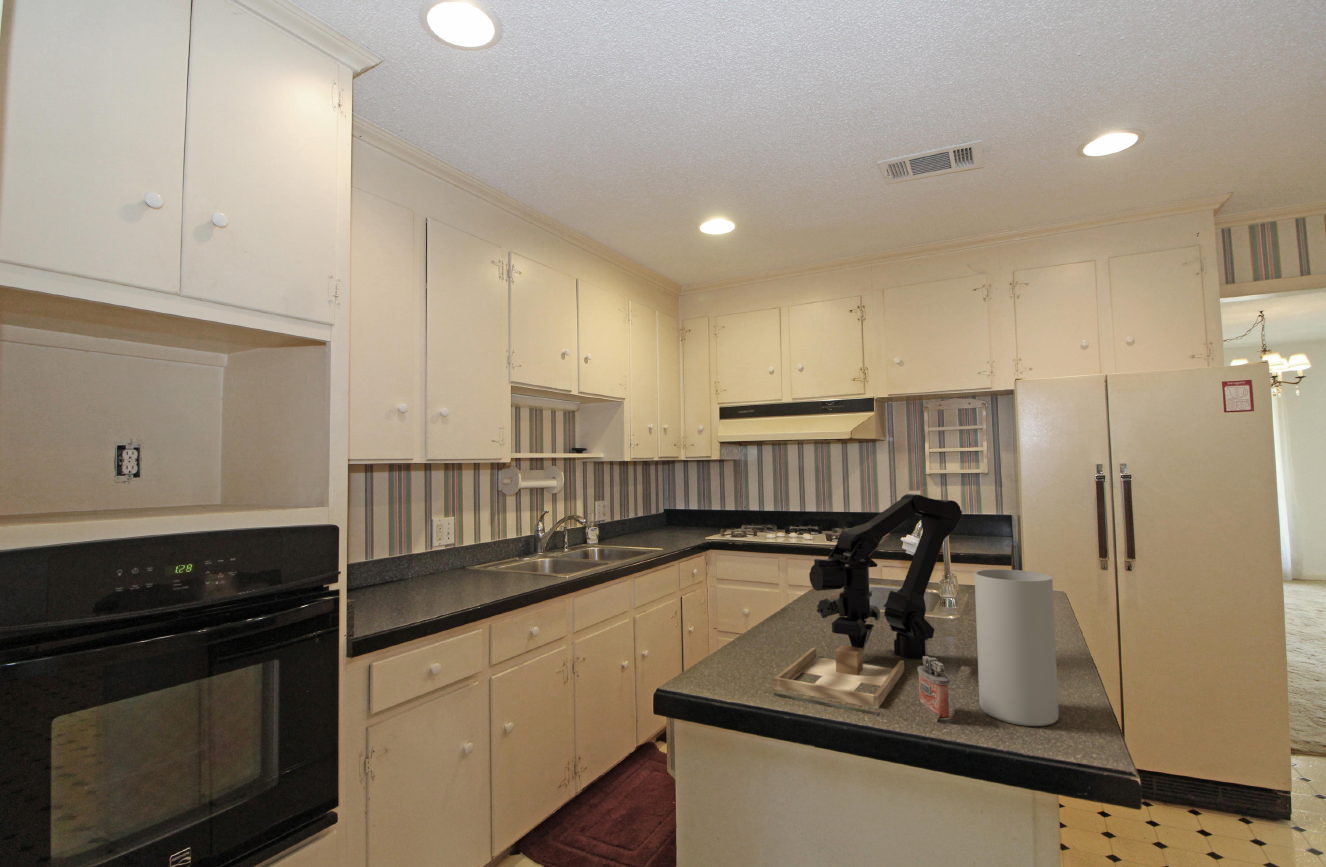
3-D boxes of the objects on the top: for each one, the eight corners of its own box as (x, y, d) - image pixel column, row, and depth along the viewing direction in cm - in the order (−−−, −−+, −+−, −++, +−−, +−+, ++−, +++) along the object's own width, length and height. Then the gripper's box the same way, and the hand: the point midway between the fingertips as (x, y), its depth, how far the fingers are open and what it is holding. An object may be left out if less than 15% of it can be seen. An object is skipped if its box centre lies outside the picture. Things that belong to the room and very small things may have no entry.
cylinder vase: (1002, 728, 107) (996, 581, 108) (967, 701, 119) (962, 569, 121) (1075, 727, 107) (1068, 580, 108) (1031, 700, 119) (1026, 568, 121)
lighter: (914, 706, 117) (912, 652, 117) (931, 705, 117) (929, 651, 118) (936, 724, 109) (934, 666, 109) (955, 723, 109) (953, 665, 110)
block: (862, 669, 134) (862, 648, 134) (857, 675, 130) (856, 653, 130) (842, 666, 136) (841, 645, 136) (836, 672, 132) (835, 650, 133)
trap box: (904, 677, 133) (904, 660, 133) (878, 716, 112) (877, 696, 113) (813, 663, 143) (812, 647, 144) (774, 696, 123) (773, 678, 123)
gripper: (832, 578, 152) (834, 642, 151) (807, 591, 136) (809, 664, 135) (879, 582, 146) (881, 649, 145) (859, 596, 130) (861, 672, 129)
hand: (858, 658), depth 139 cm, fingers closed
